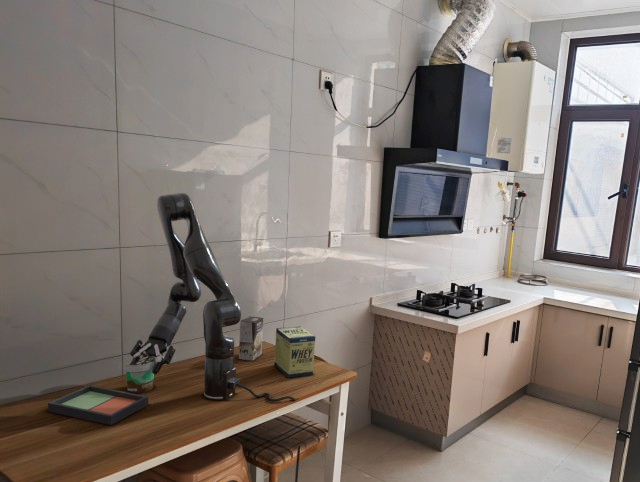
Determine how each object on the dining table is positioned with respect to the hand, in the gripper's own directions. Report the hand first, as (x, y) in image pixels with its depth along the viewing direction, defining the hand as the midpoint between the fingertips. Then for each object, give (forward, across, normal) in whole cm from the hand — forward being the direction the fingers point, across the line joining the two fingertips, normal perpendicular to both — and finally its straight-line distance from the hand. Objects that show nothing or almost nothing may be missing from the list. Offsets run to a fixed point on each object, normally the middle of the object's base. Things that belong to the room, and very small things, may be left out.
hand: (142, 371), depth 183 cm
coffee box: (-28, +14, +38) cm, 50 cm away
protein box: (-24, +36, +34) cm, 55 cm away
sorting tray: (+17, -2, -7) cm, 18 cm away
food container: (+4, 0, +6) cm, 7 cm away
